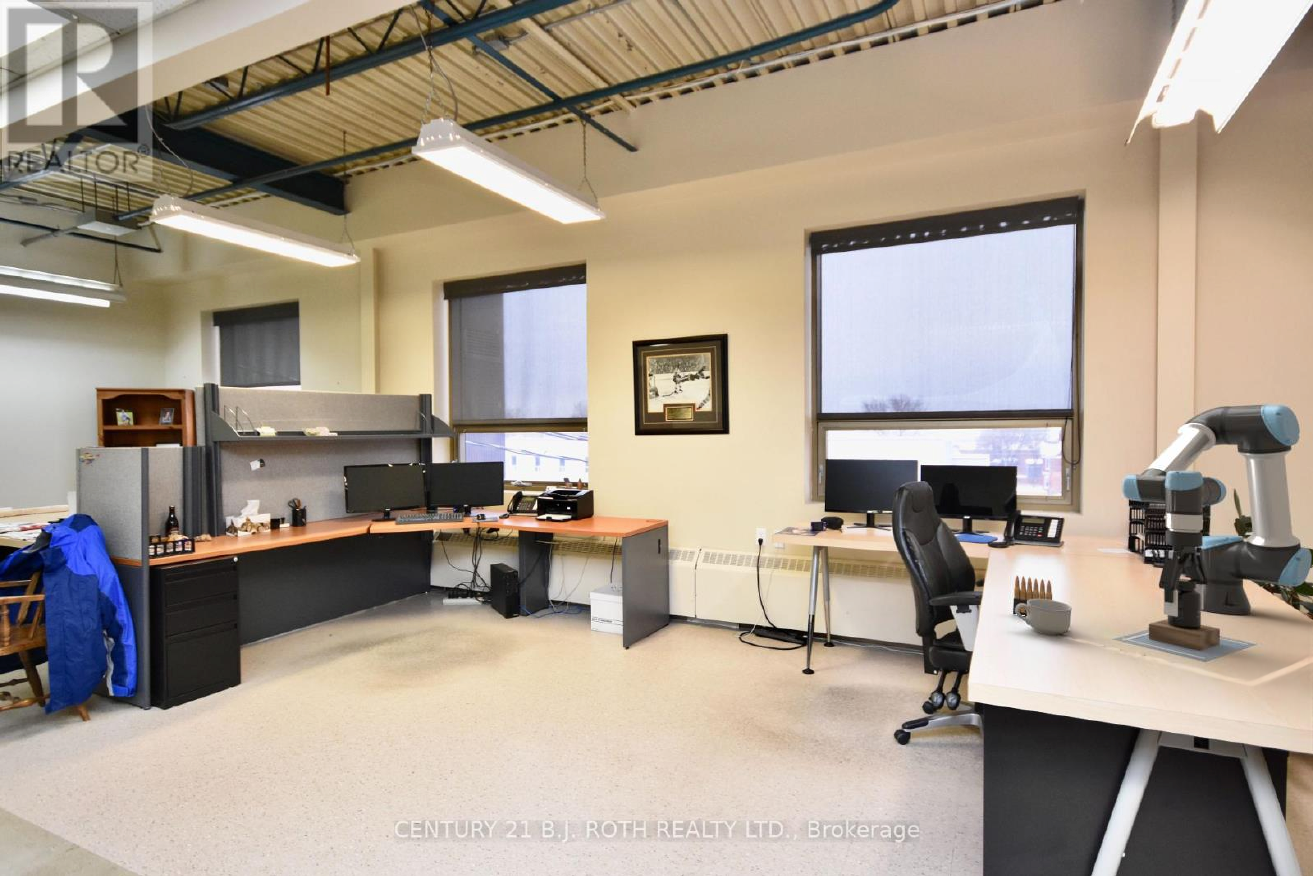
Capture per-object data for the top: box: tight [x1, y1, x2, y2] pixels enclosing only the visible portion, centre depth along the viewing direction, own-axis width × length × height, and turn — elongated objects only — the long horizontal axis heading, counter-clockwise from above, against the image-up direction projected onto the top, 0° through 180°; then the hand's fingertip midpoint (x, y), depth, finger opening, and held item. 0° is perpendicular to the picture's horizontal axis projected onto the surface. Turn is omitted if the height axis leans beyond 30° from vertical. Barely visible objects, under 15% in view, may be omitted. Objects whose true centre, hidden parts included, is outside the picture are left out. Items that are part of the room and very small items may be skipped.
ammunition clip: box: [1012, 575, 1053, 616], centre depth 197 cm, size 11×2×12 cm, turn 41°
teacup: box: [1015, 599, 1073, 636], centre depth 183 cm, size 14×11×8 cm
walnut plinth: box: [1148, 618, 1221, 651], centre depth 170 cm, size 11×11×4 cm
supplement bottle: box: [1166, 578, 1202, 629], centre depth 171 cm, size 7×7×12 cm
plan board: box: [1112, 629, 1257, 663], centre depth 170 cm, size 28×20×1 cm
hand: (1183, 612), depth 170 cm, fingers open, 13 cm apart
